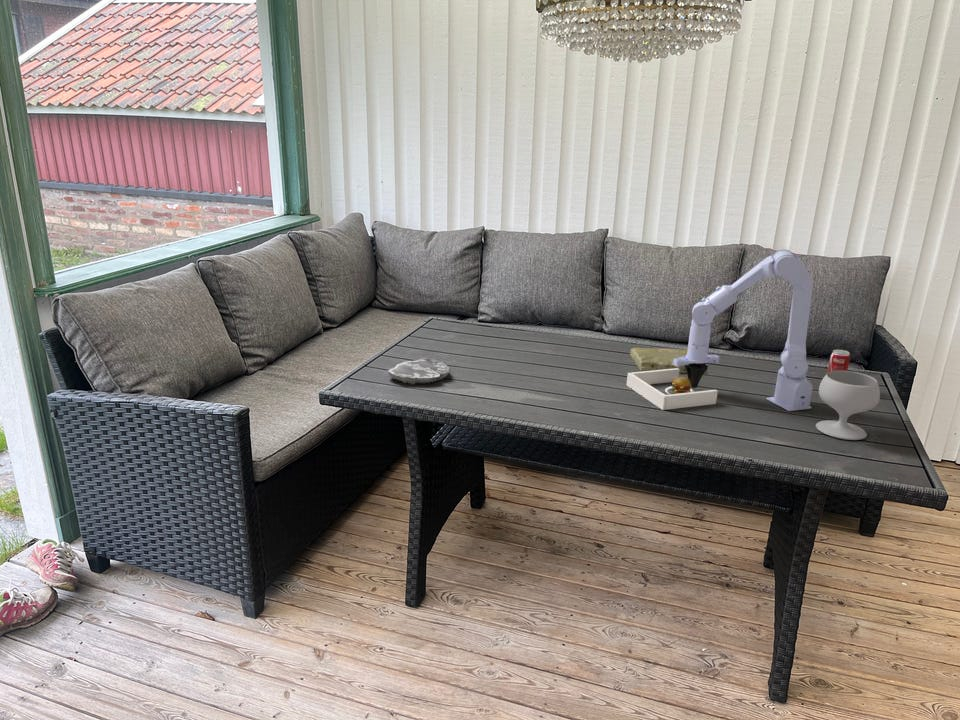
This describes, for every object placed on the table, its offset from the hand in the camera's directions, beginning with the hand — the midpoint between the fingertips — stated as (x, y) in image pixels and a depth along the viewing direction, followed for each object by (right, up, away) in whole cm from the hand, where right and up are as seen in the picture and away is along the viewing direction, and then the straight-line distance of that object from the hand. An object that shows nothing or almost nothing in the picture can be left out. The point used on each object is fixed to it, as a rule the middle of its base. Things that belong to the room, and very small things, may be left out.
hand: (692, 386), depth 206 cm
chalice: (+31, -11, -24) cm, 41 cm away
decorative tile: (-2, +6, +25) cm, 26 cm away
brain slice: (-81, +2, +8) cm, 82 cm away
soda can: (+45, -1, +6) cm, 45 cm away
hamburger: (-4, -3, 0) cm, 5 cm away
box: (-7, -2, -2) cm, 8 cm away
